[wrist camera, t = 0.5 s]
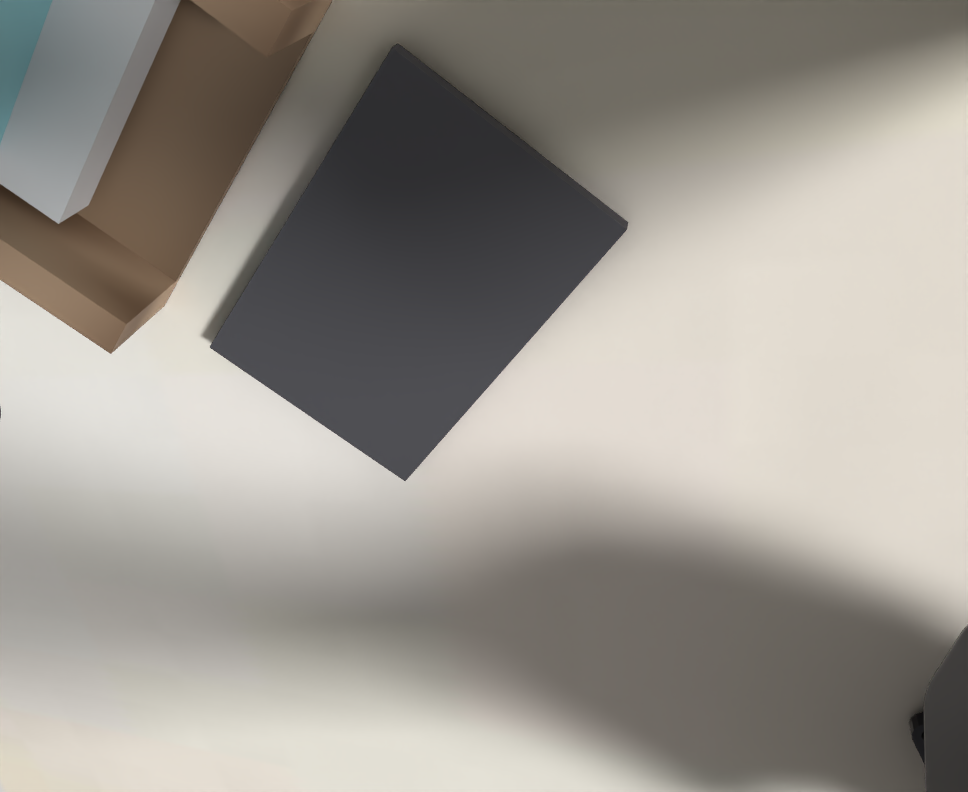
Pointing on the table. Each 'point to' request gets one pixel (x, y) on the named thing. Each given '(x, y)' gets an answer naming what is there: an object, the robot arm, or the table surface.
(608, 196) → the table surface
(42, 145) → the blue pillar on plinth
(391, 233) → the dark gray rectangular plate
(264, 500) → the table surface
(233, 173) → the track
